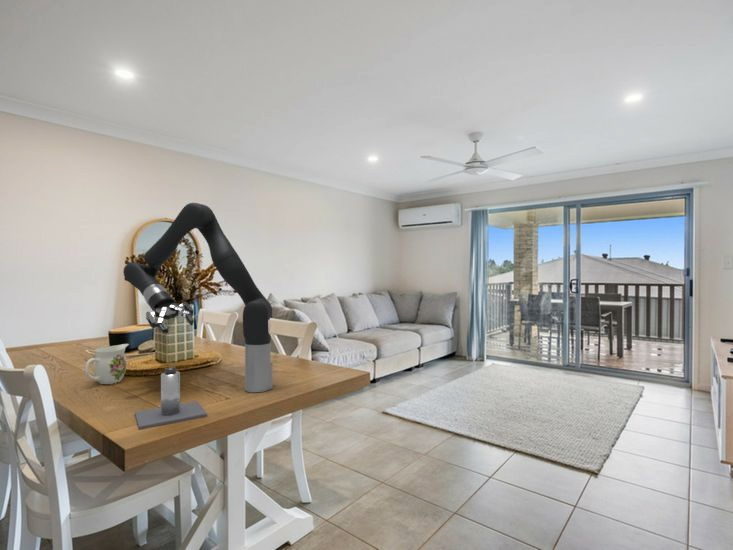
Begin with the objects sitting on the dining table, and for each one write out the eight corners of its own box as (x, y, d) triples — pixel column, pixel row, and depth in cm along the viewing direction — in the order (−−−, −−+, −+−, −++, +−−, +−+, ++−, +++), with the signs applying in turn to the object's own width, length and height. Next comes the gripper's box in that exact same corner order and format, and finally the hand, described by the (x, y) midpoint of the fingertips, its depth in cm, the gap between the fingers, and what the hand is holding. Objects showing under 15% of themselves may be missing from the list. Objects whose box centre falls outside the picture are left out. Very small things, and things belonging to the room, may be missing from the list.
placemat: (197, 403, 133) (197, 400, 133) (206, 416, 121) (206, 413, 121) (134, 414, 123) (134, 411, 123) (138, 429, 111) (138, 426, 111)
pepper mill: (178, 408, 125) (178, 365, 125) (181, 413, 121) (181, 368, 121) (160, 411, 123) (159, 367, 122) (162, 416, 118) (162, 371, 118)
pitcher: (74, 388, 149) (74, 351, 148) (118, 375, 166) (118, 343, 166) (96, 391, 145) (96, 353, 145) (138, 378, 162) (138, 344, 162)
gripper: (137, 296, 136) (158, 326, 128) (179, 285, 146) (200, 312, 138) (137, 312, 140) (158, 342, 132) (178, 301, 150) (199, 328, 142)
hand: (180, 327), depth 135 cm, fingers open, 8 cm apart
